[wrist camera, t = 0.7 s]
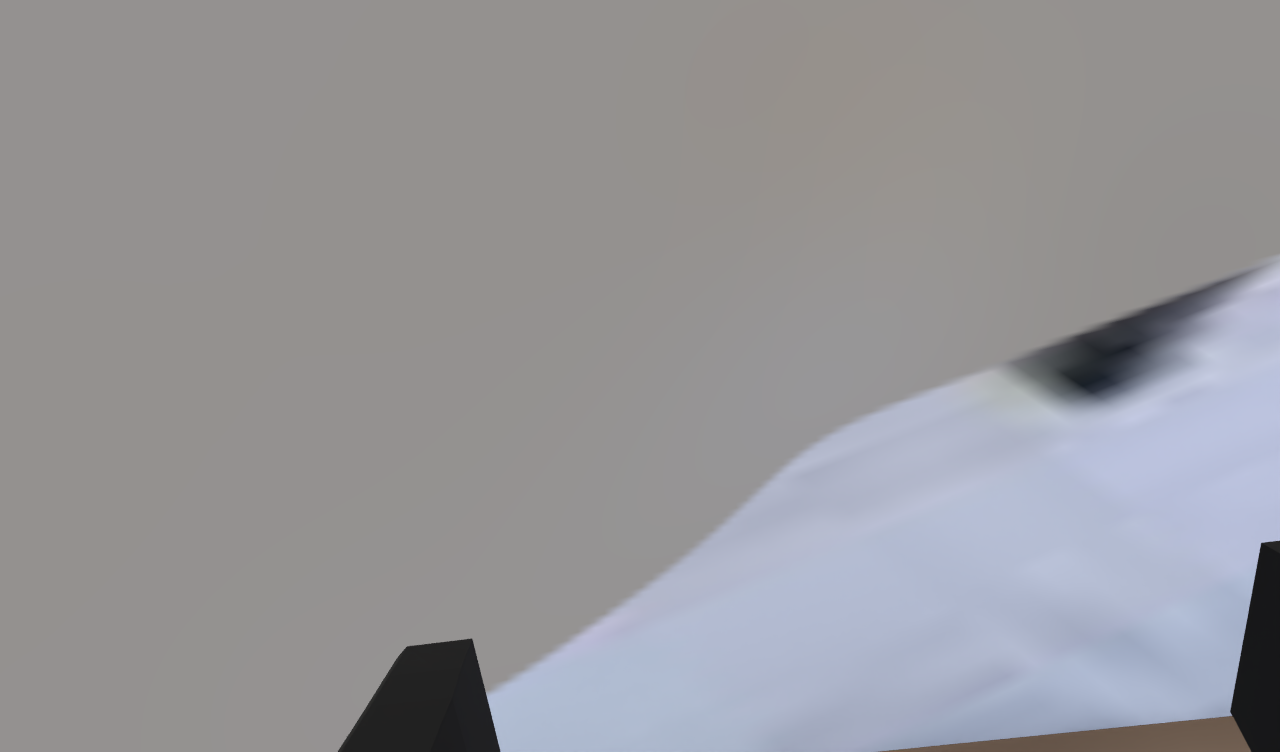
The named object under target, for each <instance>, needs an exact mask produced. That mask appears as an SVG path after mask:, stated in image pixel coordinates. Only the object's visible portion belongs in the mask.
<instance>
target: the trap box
mask: <svg viewBox="0 0 1280 752" xmlns="http://www.w3.org/2000/svg"><path fill="white" fill-rule="evenodd" d="M880 752H1251V750H1250V748H1249V746H1248V744H1247V742H1246V741H1245V739H1244V737H1243V735H1242V733H1241V731H1240V729H1239V727H1238V725H1237V723H1236V722H1235V720H1234V718H1233V716H1229V717H1219V718H1209V719H1199V720H1189V721H1179V722H1169V723H1159V724H1149V725H1139V726H1129V727H1119V728H1109V729H1099V730H1089V731H1079V732H1069V733H1060V734H1050V735H1040V736H1030V737H1020V738H1010V739H1000V740H990V741H980V742H970V743H960V744H950V745H940V746H930V747H920V748H910V749H900V750H890V751H880Z"/></svg>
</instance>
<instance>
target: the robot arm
mask: <svg viewBox="0 0 1280 752" xmlns="http://www.w3.org/2000/svg"><path fill="white" fill-rule="evenodd" d="M1230 712H1231V714H1232V716H1233V718H1234V720H1235V722H1236V723H1237V725H1238V727H1239V729H1240V731H1241V733H1242V735H1243V737H1244V739H1245V741H1246V742H1247V744H1248V746H1249V748H1250V750H1251V752H1280V541H1274V542H1265V543H1261V547H1260V553H1259V558H1258V564H1257V569H1256V575H1255V580H1254V585H1253V591H1252V596H1251V602H1250V607H1249V613H1248V618H1247V624H1246V629H1245V635H1244V640H1243V645H1242V651H1241V656H1240V662H1239V667H1238V673H1237V678H1236V684H1235V689H1234V694H1233V700H1232V705H1231V711H1230ZM338 752H500V748H499V744H498V740H497V736H496V732H495V728H494V724H493V720H492V716H491V712H490V708H489V704H488V700H487V696H486V692H485V688H484V684H483V680H482V676H481V672H480V668H479V664H478V660H477V656H476V653H475V648H474V644H473V640H472V639H466V640H457V641H449V642H441V643H432V644H424V645H416V646H408V647H406V648H405V649H404V651H403V652H402V653H401V654H400V655H399V656H398V658H397V659H396V661H395V662H394V664H393V666H392V667H391V669H390V670H389V672H388V674H387V675H386V677H385V678H384V680H383V681H382V683H381V685H380V686H379V688H378V689H377V691H376V693H375V694H374V696H373V697H372V699H371V701H370V702H369V704H368V705H367V707H366V709H365V710H364V712H363V713H362V715H361V716H360V718H359V720H358V721H357V723H356V724H355V726H354V728H353V729H352V731H351V732H350V734H349V735H348V737H347V738H346V740H345V741H344V743H343V745H342V746H341V748H340V749H339V751H338Z"/></svg>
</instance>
